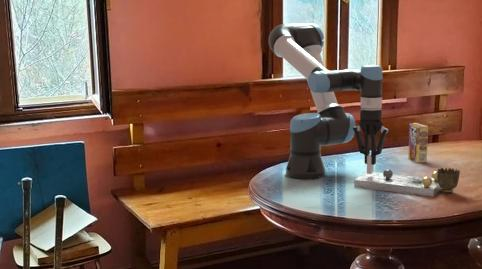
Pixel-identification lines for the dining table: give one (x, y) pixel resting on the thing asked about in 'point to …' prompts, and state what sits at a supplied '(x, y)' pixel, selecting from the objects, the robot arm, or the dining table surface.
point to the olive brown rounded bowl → (448, 179)
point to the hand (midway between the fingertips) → (370, 172)
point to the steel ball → (387, 174)
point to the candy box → (418, 142)
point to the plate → (397, 184)
